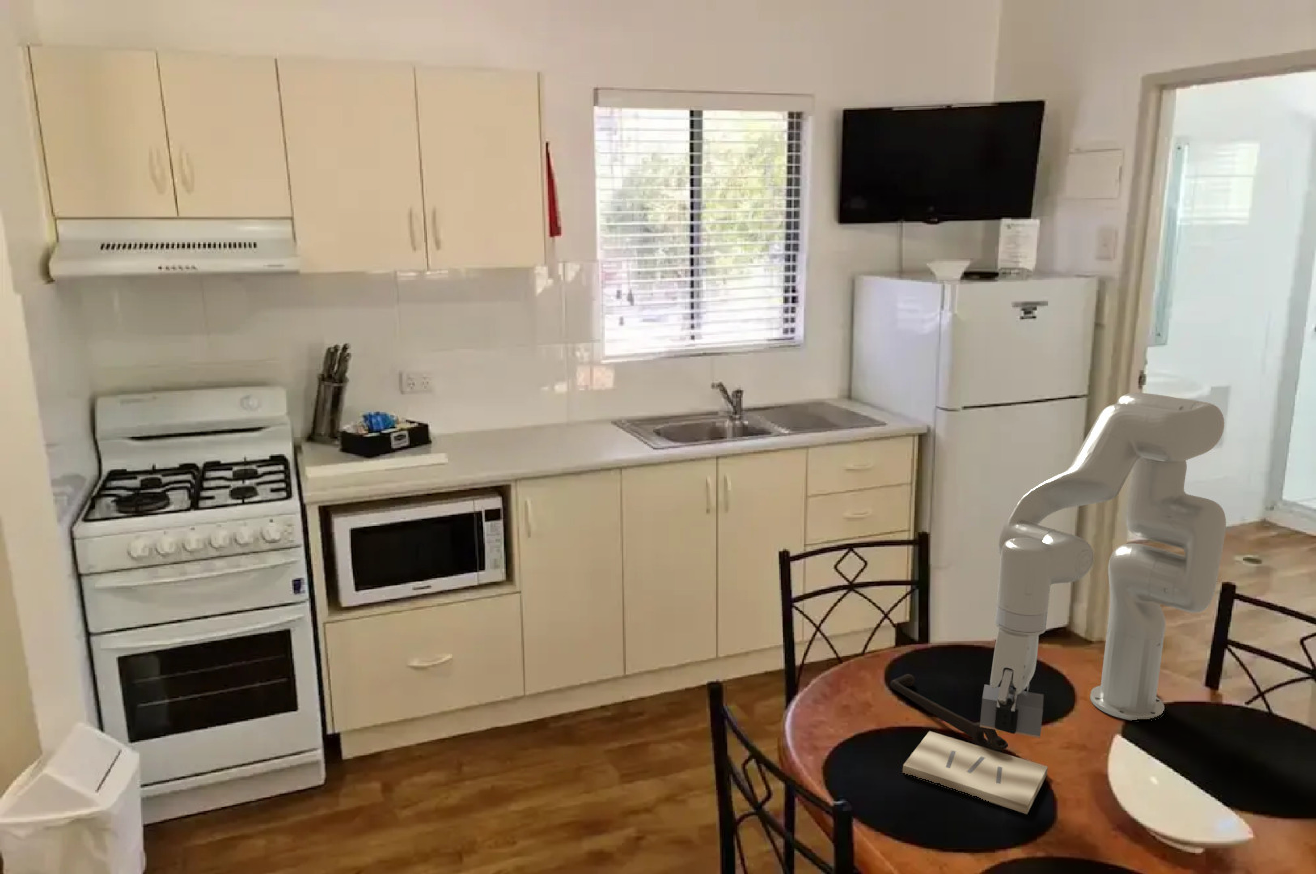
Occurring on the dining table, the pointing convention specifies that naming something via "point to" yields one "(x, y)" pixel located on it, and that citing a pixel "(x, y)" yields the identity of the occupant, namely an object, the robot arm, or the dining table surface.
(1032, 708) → the block
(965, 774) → the board
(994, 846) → the dining table surface
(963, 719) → the wrench
